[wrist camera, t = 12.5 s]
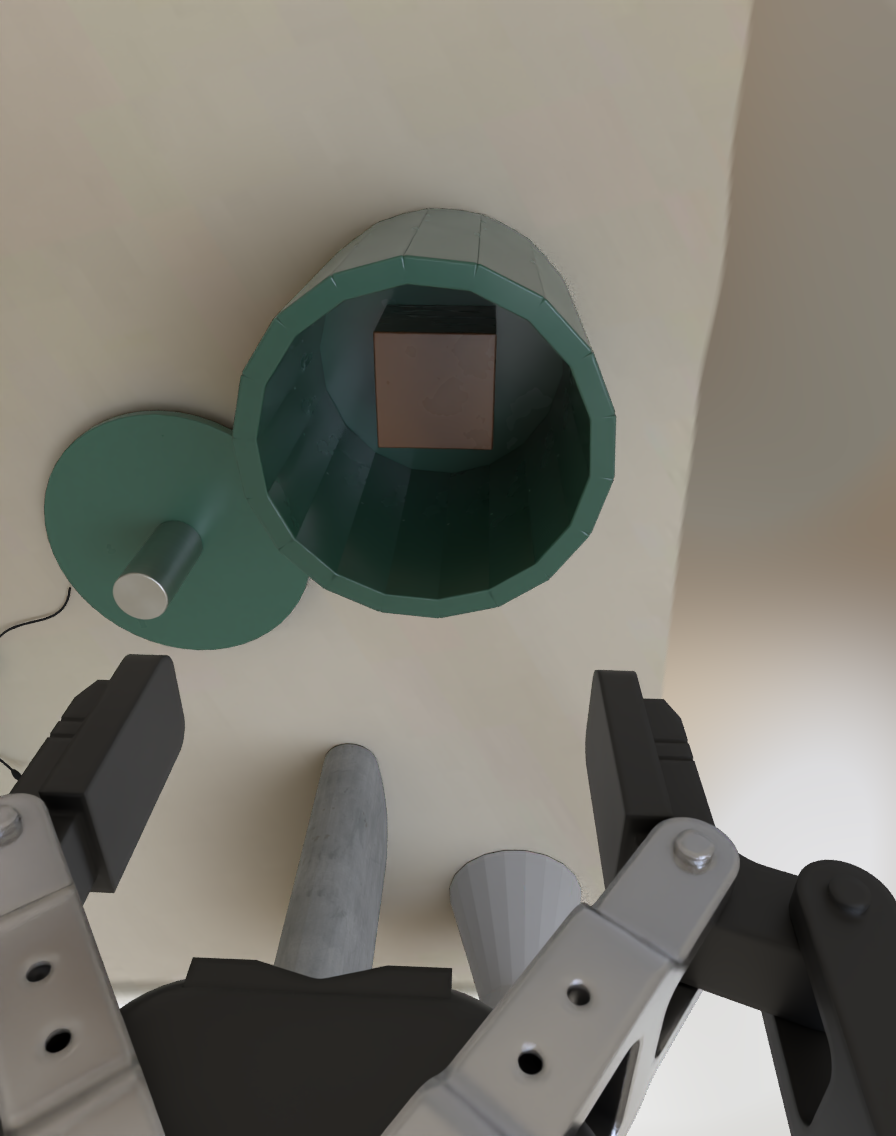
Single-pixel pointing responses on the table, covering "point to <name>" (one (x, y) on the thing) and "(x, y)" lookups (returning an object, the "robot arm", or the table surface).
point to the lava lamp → (509, 914)
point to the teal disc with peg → (167, 533)
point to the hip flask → (339, 871)
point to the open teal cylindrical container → (416, 475)
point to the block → (435, 376)
